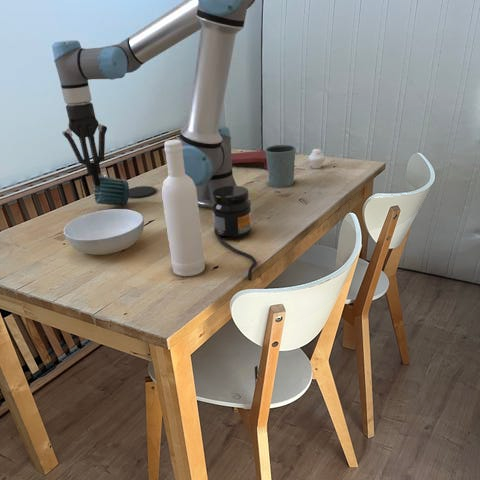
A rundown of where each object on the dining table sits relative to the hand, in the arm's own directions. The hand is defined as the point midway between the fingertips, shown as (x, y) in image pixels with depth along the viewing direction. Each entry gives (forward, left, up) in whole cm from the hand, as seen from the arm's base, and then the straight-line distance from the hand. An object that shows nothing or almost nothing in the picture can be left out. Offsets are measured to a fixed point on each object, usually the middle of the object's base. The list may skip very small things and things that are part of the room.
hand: (97, 184), depth 151 cm
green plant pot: (-12, -60, -9) cm, 62 cm away
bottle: (-54, -7, -9) cm, 55 cm away
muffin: (-4, -81, -9) cm, 82 cm away
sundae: (+26, -39, -9) cm, 48 cm away
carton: (+18, -62, -9) cm, 66 cm away
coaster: (+10, -16, -9) cm, 21 cm away
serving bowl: (-29, +6, -9) cm, 31 cm away
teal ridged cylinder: (0, -3, -7) cm, 8 cm away
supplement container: (-41, -26, -9) cm, 49 cm away
